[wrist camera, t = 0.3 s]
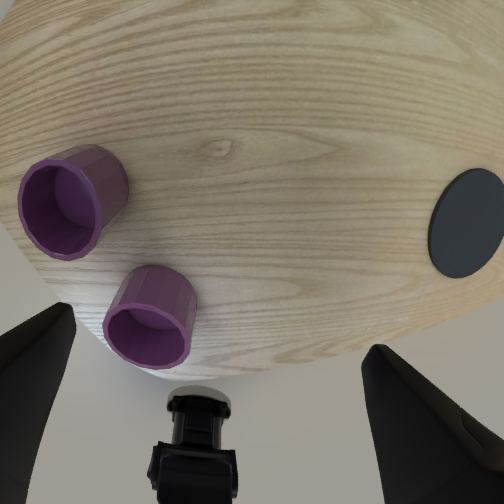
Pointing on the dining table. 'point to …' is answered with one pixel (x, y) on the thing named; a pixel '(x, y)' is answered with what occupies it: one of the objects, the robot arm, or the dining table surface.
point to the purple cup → (152, 318)
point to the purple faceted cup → (72, 200)
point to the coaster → (467, 223)
